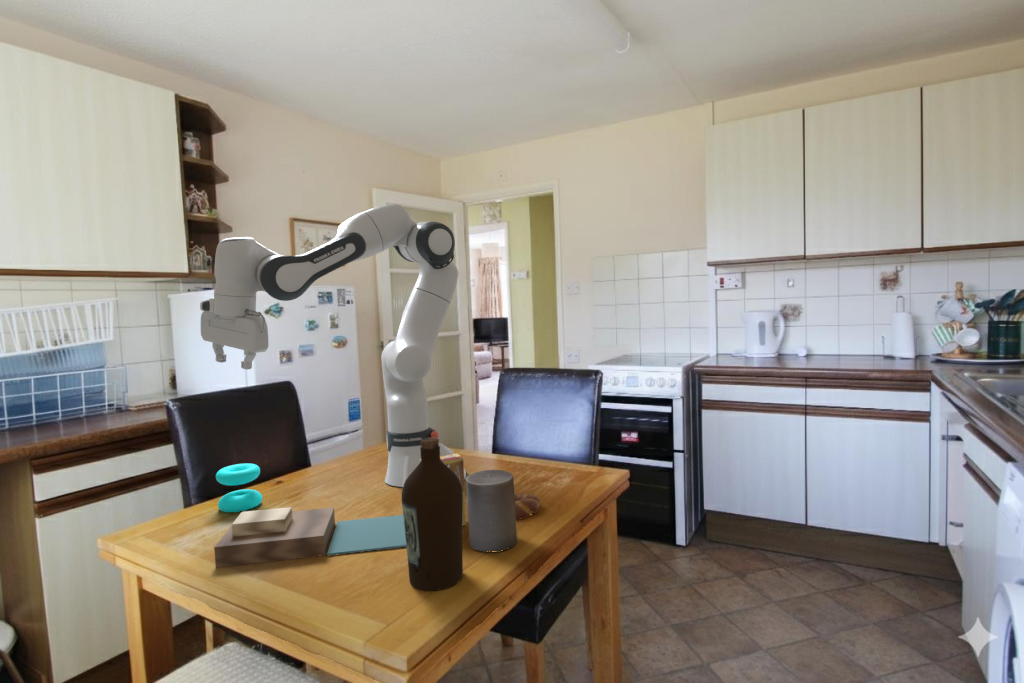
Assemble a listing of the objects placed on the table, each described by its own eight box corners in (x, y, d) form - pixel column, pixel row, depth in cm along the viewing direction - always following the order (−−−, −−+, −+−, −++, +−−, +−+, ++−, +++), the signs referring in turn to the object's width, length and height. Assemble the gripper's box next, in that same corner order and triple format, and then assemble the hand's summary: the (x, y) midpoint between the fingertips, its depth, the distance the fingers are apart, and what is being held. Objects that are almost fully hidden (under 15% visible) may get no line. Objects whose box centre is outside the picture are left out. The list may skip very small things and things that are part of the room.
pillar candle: (512, 530, 120) (508, 461, 119) (521, 550, 111) (517, 474, 110) (466, 536, 119) (462, 466, 118) (471, 556, 109) (467, 479, 108)
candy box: (460, 519, 128) (457, 452, 127) (467, 526, 124) (463, 457, 123) (422, 527, 124) (418, 458, 123) (428, 534, 120) (424, 463, 119)
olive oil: (455, 559, 108) (449, 429, 106) (474, 584, 98) (468, 441, 96) (399, 572, 103) (392, 437, 102) (414, 599, 94) (406, 450, 92)
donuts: (233, 461, 147) (268, 462, 145) (236, 499, 147) (270, 500, 146) (206, 473, 137) (242, 474, 135) (209, 513, 138) (245, 515, 136)
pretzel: (528, 500, 139) (528, 485, 139) (550, 515, 130) (550, 499, 129) (483, 509, 134) (483, 494, 134) (502, 524, 124) (502, 508, 124)
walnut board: (335, 524, 127) (334, 507, 127) (324, 555, 112) (323, 535, 111) (240, 534, 124) (238, 516, 124) (215, 567, 108) (214, 547, 108)
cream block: (292, 518, 121) (291, 507, 121) (285, 531, 114) (284, 519, 114) (242, 523, 120) (241, 511, 119) (232, 536, 113) (231, 524, 113)
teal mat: (409, 516, 131) (409, 514, 131) (409, 546, 114) (409, 544, 114) (337, 523, 128) (337, 521, 128) (327, 556, 111) (327, 553, 111)
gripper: (276, 312, 130) (274, 371, 132) (220, 301, 139) (219, 356, 141) (252, 313, 124) (250, 374, 126) (195, 302, 134) (194, 359, 136)
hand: (233, 365), depth 134 cm, fingers open, 8 cm apart
